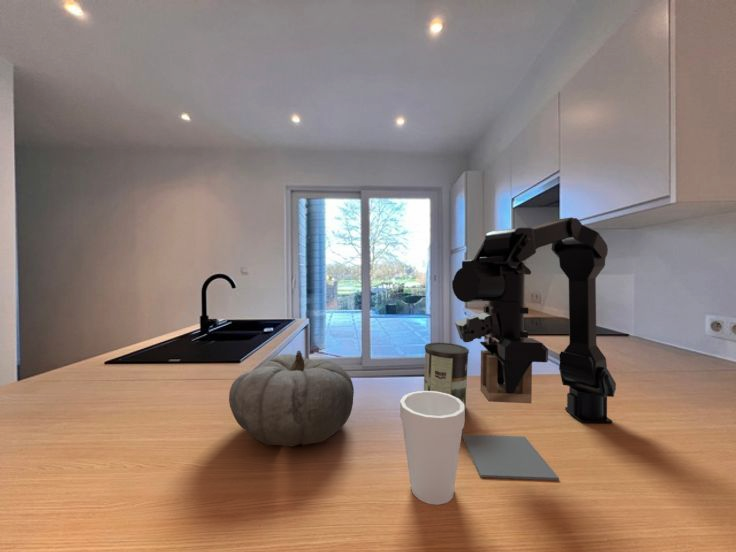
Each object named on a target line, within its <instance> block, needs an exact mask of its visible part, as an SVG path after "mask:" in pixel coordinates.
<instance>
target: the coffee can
mask: <svg viewBox="0 0 736 552" xmlns="http://www.w3.org/2000/svg"><path fill="white" fill-rule="evenodd" d="M424 350H425V352H424V374H423V375H424V376H423V391H437V392H442V393H446V394H450V395H452V396H454V397H456V398H458V399H460V400H461V401H462V402H463V403H464V405H465V411H466V409H467V406H466V403H467V383H468V365H469V363H468V362H469V353H470V350H469V349H468V347H466V346H463V345H461V344H460V345H459V344H456V343H450V342H449V343H448V342H431V343H430V342H429V343H426V344H425V345H424Z"/></svg>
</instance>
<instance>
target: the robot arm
mask: <svg viewBox="0 0 736 552" xmlns="http://www.w3.org/2000/svg"><path fill="white" fill-rule="evenodd" d="M550 244H551V251H552V252H553V253H554V254H555V255H556V257H557V258H558V262H559V268H560V269H561V271H562V272H563V273H564V274H565V276H566V278H568V321H569V323H568V326H569V327H568V328H569V329H568V330H569V331H568V332H569V333H568V334H569V343H568V345H567V346H566V348H565V349H564V350H563V351H562V350H561V351H560V352H559V356H558V357H559V366H558V367H559V368H558V370H559V374H560V379H561V384H562V385H563V386H567V387H569V390H568V391H569V392H567V393H566V394H567V395H566V396H567V397H566V402H567V403H566V407H564V410H565V411H566V412H568V413H569V414H570V415H571V416H573V418H575V419H577V420H578V421H579V422H581V423H590V424H591V423H593V424H613V420H612V419H611V418H609V417H608V397H611V398H613V397H615V393H616V390H617V389H616V387H617V383H616V381H615V379H614V378H613V375H611V372H610V371H609V369H608V368H607V367H608V366H607V358H606V356H605V355H604V354H603V352H602V351H601V349H600V348H599V347H598V345H597V297H596V296H597V295H596V294H597V286H596V284H597V280H596V279H597V278H598V276H599V274H600V273H601V272H602V270H603V269H604V268H605V265H606V258H607V255H608V244H607V243H606V241H605V240H604V238H603V237H602V236H601V234H600V233H599V232H598V231H596V230H594V229H592V228H590V227H588V226H585V225H583V224H582V222H581V221H580V220H579V219H578V218H576V217H565V218H558V219H553V220H551V221H549V222H546V223H542V224H539V225H536V226H535V225H534V226H531V227H515V228H508V229H507V228H505V229H501V230H493V231H489V232H487V233H486V234H485V236H484V240H483V242H482V244H481V245H480V247H479V249H478V250H477V252H476V254H475V256H474V258H473V259H467V260H464V259H463V260H462V261H461V268H460V269H458V270H457V271H456V272H455V275H454V277H453V280H452V281H451V282H452V284H451V286H452V291H453V293H454V294H453V295H454V296H455V297H456V298H457V300H459V301H461V302H463V303H476V302H477V303H478V302H488V304H485V305H483V312H482V313H481V312H480V313H479V314H474V315H471V316H468V317H465V318H462V319H459V320H457V321H455V322H454V325H455V328H456V329H457V333H458V336H459V338H460V340H462V341H463V343H470V342H471V343H472V342H473V341H474V340H476V339H478V340H482V338H484V341H479V343H480V344H481V346H483V347H484V348H485V350H486V351H490V352H491V356H496V357H497V358H498V366H497V383H498V384H505V390H506V393H511V394H512V393H514V391H515V389H516V387H517V386H518V384H519V382H520V381H521V379H522V377H523V375H524V374H525V372H526V371H527V369H528V368H529V366H530V365H531V363H532V364H533V363H547V362H549V348H548V347H546V346H545V343H543V342H540V341H539V340H536V339H535V338H532V337H529V331H527V330H525V329H524V328H525V327H524V324H525V323H524V319H525V316H524V314H526V315H528V314H529V307H527V306H525V276H526V275H527V276H529V275H531V274H532V271H531V270H530V268H529V267H528V266H527V265H525V263H524V262H525V261H527V260H528V259H529V258H531V257H532V256H534V255H536V252H537V250H538V249H539V248H541V247H544V246H547V245H550Z"/></svg>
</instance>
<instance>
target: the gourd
mask: <svg viewBox="0 0 736 552" xmlns="http://www.w3.org/2000/svg"><path fill="white" fill-rule="evenodd" d="M351 378H352V377H350V374H348V372H346V371H345V369H344V368H342V366H340V365H339V364H336V363H334V362H333V361H330V360H326V359H317V360H316V359H315V360H313V359H309V358H307V357H305V356H303V353H302V352H301V350H297V351H296V354H293V353H285V354H279V355H277V356H274V357H272V358H271V359H269V361H266V362H264V363H263V364H261V365H260V366H258V367H257V368H254V369H252V370H248V371H246V372H244V373H241V375H239V376H238V377H237V378H235V379H234V381H233V382H232V384H231V386H230V389H229V394H228V402H229V407H230V410H231V413H232V415H233V417H234V419H235V421H236V423H237V424H238V425H239V426H240V428H242V429H243V430H245V432H247V433H248V434H249V435H250V436H251V437H252V438H253V439H256V440H257V441H259V442H260V443H263V444H265V445H267V446H276V445H277V446H285V447H294V446H298V445H301V446H304V445H305V446H306V445H309V444H310V445H311V444H317V443H318V444H319V443H322V442H324V441H325V440H327V439H328V438H330V437H331V436H332V435H334V434H335V433H337V432H339V431H340V430H341V429H342V428H343V427H344V426H345V424H346V423H347V422H348V420H349V418H350V416H351V413H352V410H353V405H354V404H353V403H354V394H355V393H354V392H355V391H354V390H355V389H354V384H353V380H352V379H351Z"/></svg>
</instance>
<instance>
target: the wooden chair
mask: <svg viewBox="0 0 736 552" xmlns="http://www.w3.org/2000/svg"><path fill="white" fill-rule="evenodd" d="M497 366H498V358H497V357H496V356H491V352H490V351H488V350H487V349H485V350H483V349H481V350H480V389H479V390H480V392H481V393H482V394H483V396H484V398H485V399H486V400H487V402H493V403H512V404H532V390H533V389H532V388H533V385H532V383H533V379H532V378H533V375H532V373H533V362H532V363H531V365H530V366H529V368H528V369H527V371H526V372H525V374H524V375H523V377H522V379H521V381H520V382H519V384H518V386H517V387H516V389H515V391H514V393H512V394H511V393H506V390H505V384H498V383H497Z"/></svg>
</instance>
